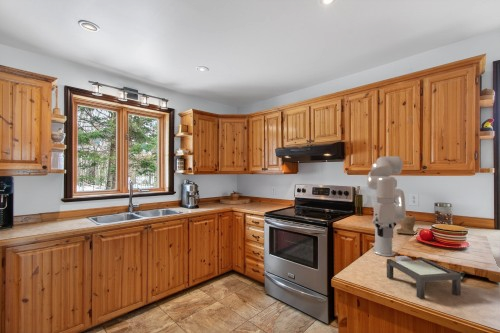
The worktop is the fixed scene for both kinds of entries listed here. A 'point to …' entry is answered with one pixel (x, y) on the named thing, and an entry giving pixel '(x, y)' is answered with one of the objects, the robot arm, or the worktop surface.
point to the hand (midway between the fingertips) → (385, 235)
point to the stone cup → (407, 225)
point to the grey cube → (387, 232)
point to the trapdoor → (418, 266)
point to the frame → (427, 276)
